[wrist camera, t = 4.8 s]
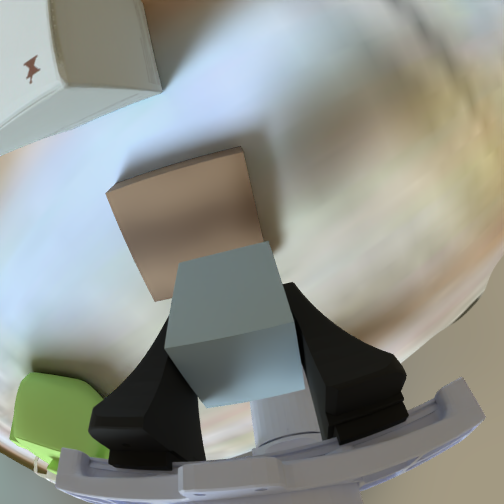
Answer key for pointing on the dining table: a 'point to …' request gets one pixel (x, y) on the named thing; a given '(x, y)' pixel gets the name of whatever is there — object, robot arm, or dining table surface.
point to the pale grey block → (233, 328)
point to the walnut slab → (185, 215)
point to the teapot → (55, 417)
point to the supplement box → (70, 65)
